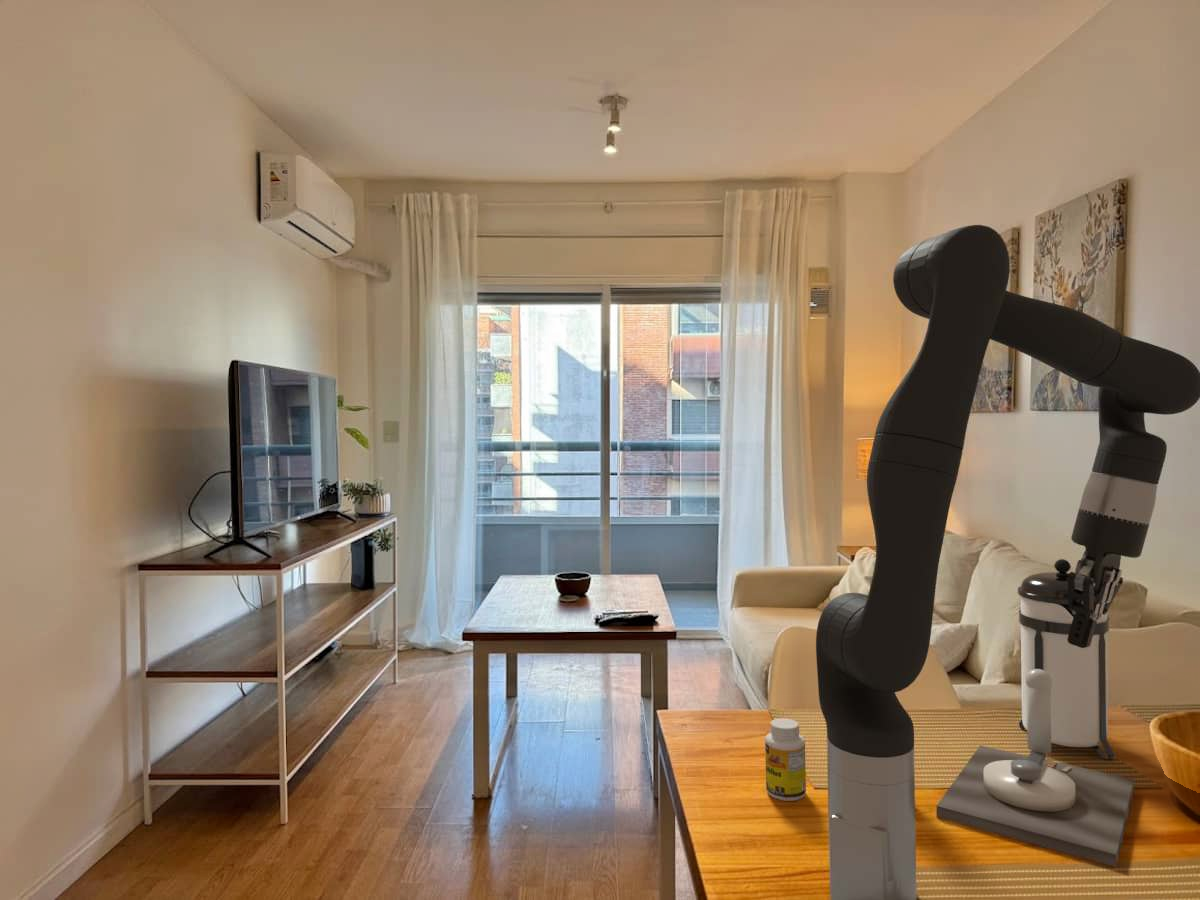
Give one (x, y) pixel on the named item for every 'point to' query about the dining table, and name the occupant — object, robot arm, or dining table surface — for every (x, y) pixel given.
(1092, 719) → the coffee press
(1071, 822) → the dial board
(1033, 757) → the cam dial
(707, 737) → the dining table surface
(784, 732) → the supplement bottle
